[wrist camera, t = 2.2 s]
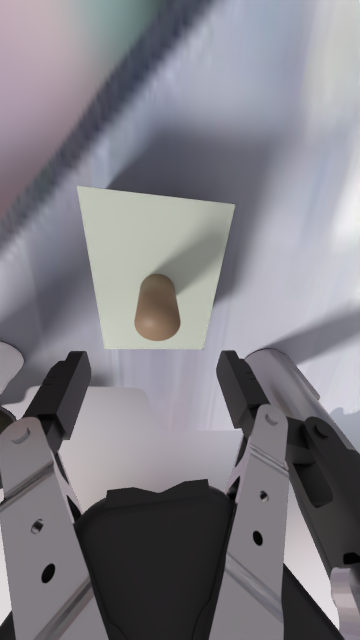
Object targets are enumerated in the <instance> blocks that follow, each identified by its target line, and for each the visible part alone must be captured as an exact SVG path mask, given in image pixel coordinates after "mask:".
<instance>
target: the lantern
mask: <svg viewBox="0 0 360 640" xmlns="http://www.w3.org/2000/svg"><path fill="white" fill-rule="evenodd" d="M15 421H17V420H16V417H15V416H14V415H13V414H12V413H11V412H10V411H8V410H7V409H5V408H3V407H1V406H0V434H1V433H2V432H3V431H4V430H5V429H6V428H7V427H8V426H9V425H11V424H12V423H14V422H15Z"/></svg>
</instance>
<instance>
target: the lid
mask: <svg viewBox="0 0 360 640" xmlns="http://www.w3.org/2000/svg"><path fill="white" fill-rule="evenodd" d="M77 191H78V196H79V202H80V208H81V214H82V220H83V225H84V231H85V237H86V243H87V249H88V254H89V260H90V266H91V272H92V278H93V284H94V289H95V295H96V301H97V307H98V313H99V318H100V324H101V330H102V336H103V342H104V347H105V349H203V346H204V342H205V337H206V333H207V328H208V324H209V319H210V315H211V311H212V306H213V302H214V297H215V293H216V288H217V284H218V280H219V275H220V271H221V266H222V262H223V257H224V253H225V248H226V244H227V240H228V235H229V231H230V226H231V222H232V217H233V213H234V208H235V204H229V203H220V202H211V201H203V200H194V199H186V198H177V197H169V196H160V195H152V194H143V193H134V192H126V191H117V190H109V189H100V188H92V187H83V186H77Z"/></svg>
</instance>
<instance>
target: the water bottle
mask: <svg viewBox="0 0 360 640" xmlns="http://www.w3.org/2000/svg"><path fill="white" fill-rule="evenodd" d="M23 363H24V359H23V357H22V355H21V353H20V352H19V351H18V350H17V349H15V348H14V347H12V346H11V345H9V344H6V343H3V342H0V395H1V393H2V392H3V391H4V389H5V388H6V386H7V384H8V382H9V381H10V380H11V379H12V378H13V377H14V376H15V375H16V374H17V373H18V372H19V370H20V369H21V368H22V366H23Z"/></svg>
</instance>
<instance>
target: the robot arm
mask: <svg viewBox="0 0 360 640" xmlns="http://www.w3.org/2000/svg"><path fill="white" fill-rule="evenodd" d="M216 373H217V378H218V381H219V384H220V387H221V390H222V393H223V396H224V399H225V402H226V405H227V408H228V411H229V414H230V417H231V420H232V423H233V426H234V428H235V429H237V428H242V431H243V435H242V438H241V442H240V445H239V449H238V452H237V455H236V459H235V462H234V466H233V469H232V472H231V474H230V477H229V479H228V482H227V484H226V487H225V491H224V493H223V492H222V491H220V490H219V489H216V488H214V487H212V486H209V485H208V479H203V480H194V481H186V482H182V483H180V484H178V485H176V486H174V487H172V488H170V489H168V490H166V491H163V492H161V493H156V492H151V491H147V490H143V489H139V488H134V487H132V488H122V489H114V490H108V491H107V495H106V498H104V499H102V500H100V501H99V502H97V503H95V504H94V505H92V506H91V507H90V508H89V509H88V510H87V511H85V513H83V512H82V509H81V507H80V504H79V501H78V499H77V497H76V495H75V493H74V491H73V488H72V486H71V483H70V481H69V478H68V476H67V473H66V470H65V468H64V465H63V462H62V459H61V457H60V454H59V451H58V448H59V446H60V443H61V440H70V437H71V434H72V431H73V429H74V425H75V423H76V420H77V417H78V414H79V411H80V408H81V405H82V402H83V399H84V396H85V393H86V391H87V388H88V385H89V382H90V378H91V367H90V363H89V359H88V355H87V352H86V351H71V352H70V353H69V354H68V356H67V358H66V360H65V361H59V362H58V363H56V364H55V365H54V366H53V367H52V368H51V369H50V371H49V373H48V374H47V376H46V379H44V381H43V383H42V386H40V388H39V390H38V392H37V393H36V395H35V397H34V399H33V400H32V402H31V404H30V405H29V407H28V409H27V410H26V412H25V414H24V415H23V417H22V418H21V419H19V420H17V421H15V422H14V423H12V424H11V425H9V426H8V427H7V428H6V429H5V430H4V431H3V432H2V433H1V434H0V489H1V488H3V491H4V500H3V501H2V502H1V503H0V524H1V532H2V539H3V546H4V554H5V561H6V569H7V576H8V584H9V591H10V598H11V605H12V611H11V612H10V613H9V615H8V616H7V617H6V619H5V620H4V622H3V623H2V625H1V626H0V640H360V454H359V453H358V451H357V450H356V449H355V448H354V446H353V445H352V444H351V442H350V441H349V440H348V439H347V438H346V436H345V435H344V434H343V432H342V431H341V430H340V429H339V427H338V426H337V425H336V423H335V422H334V421H333V419H332V418H331V417H330V416H329V414H328V413H327V412H326V410H325V409H324V408H323V406H322V405H321V404H320V403H319V401H318V400H319V399H320V395H319V394H318V392H317V391H316V390H315V389H314V388H313V386H312V385H311V384H310V383H309V381H308V380H307V379H306V378H305V376H304V375H303V374H302V373H301V371H300V370H299V369H298V368H297V366H296V365H295V364H294V363H293V361H292V360H291V359H290V358H289V356H288V355H287V354H282V353H281V352H279V351H277V350H274V349H264V350H260V351H257V352H255V353H252V354H251V355H249V356H248V357H247V358H246V359H245V360H244V359H239V357H238V355H237V353H236V352H235V351H234V350H228V351H222V352H221V354H220V358H219V361H218V364H217V368H216ZM289 480H290V482H291V484H292V487H293V489H294V493H295V496H296V499H297V502H298V505H299V508H300V510H301V513H302V515H303V518H304V520H305V522H306V524H307V527H308V529H309V531H310V534H311V536H312V538H313V541H314V543H315V546H316V548H317V550H318V553H319V555H320V558H321V560H322V562H323V565H324V567H325V570H326V572H327V575H328V577H329V580H330V583H331V596H332V599H333V602H334V604H335V606H336V607H337V610H338V614H339V624H340V627H339V630H338V629H337V628H336V627H335V625H334V624H333V623H332V622H331V620H330V619H329V618H328V617H327V616H326V614H325V613H324V612H323V611H322V609H321V608H320V607H319V606H318V605H317V603H316V602H315V601H314V600H313V598H312V597H311V596H310V595H309V593H308V592H307V591H306V590H305V589H304V587H303V586H302V585H301V584H300V583H299V581H298V580H297V579H296V577H295V576H294V575H293V574H292V572H291V571H290V570H289V569H288V568H287V566H286V565H285V564H284V563H283V560H284V546H285V531H286V518H287V503H288V489H289Z"/></svg>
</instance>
